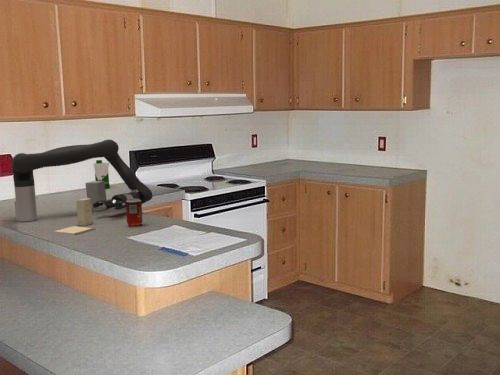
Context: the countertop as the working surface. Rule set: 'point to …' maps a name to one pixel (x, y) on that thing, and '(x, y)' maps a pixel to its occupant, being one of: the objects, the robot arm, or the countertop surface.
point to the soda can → (134, 212)
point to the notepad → (75, 230)
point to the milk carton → (102, 172)
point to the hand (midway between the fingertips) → (100, 206)
